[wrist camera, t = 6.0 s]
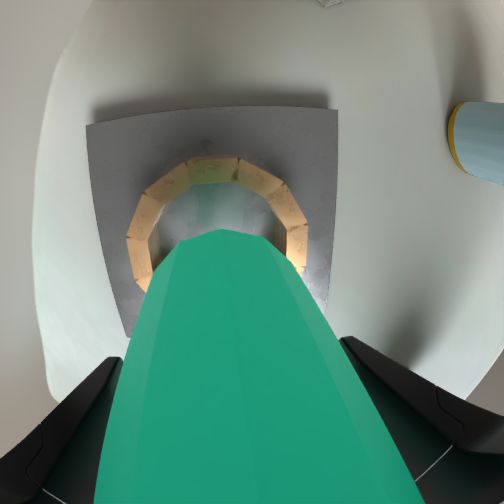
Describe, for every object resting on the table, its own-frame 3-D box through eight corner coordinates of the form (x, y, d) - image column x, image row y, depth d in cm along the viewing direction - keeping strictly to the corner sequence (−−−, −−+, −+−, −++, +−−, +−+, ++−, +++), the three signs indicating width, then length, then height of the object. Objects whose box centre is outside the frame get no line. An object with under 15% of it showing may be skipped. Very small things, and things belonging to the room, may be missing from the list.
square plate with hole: (318, 310, 24) (337, 344, 20) (130, 326, 22) (119, 363, 18) (329, 111, 17) (360, 106, 13) (94, 125, 15) (64, 125, 11)
